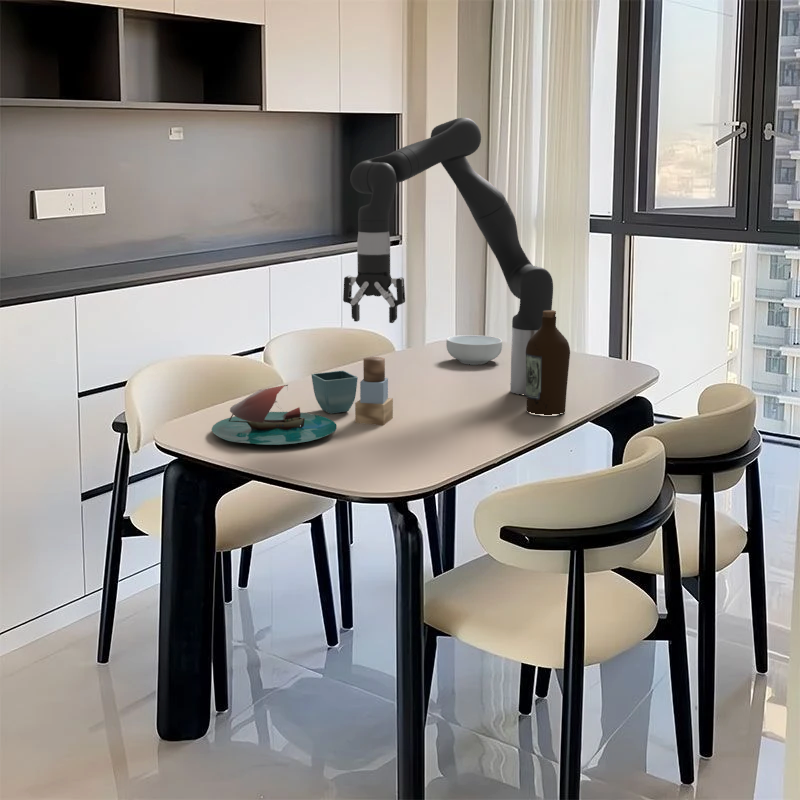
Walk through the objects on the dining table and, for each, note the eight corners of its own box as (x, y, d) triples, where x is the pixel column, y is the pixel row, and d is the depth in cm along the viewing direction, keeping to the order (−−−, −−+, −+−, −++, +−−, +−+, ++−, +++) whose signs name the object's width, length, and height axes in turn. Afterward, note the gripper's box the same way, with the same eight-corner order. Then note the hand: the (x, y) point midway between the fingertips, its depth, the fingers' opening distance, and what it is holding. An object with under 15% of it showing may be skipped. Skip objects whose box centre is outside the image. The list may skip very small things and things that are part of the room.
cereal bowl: (504, 368, 320) (504, 344, 319) (446, 368, 321) (447, 344, 319) (499, 356, 337) (500, 334, 335) (445, 356, 337) (445, 333, 335)
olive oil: (553, 405, 276) (556, 306, 270) (575, 415, 266) (580, 312, 260) (515, 409, 272) (518, 309, 266) (537, 419, 262) (541, 315, 256)
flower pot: (325, 417, 264) (325, 380, 262) (311, 409, 271) (310, 373, 269) (358, 413, 268) (358, 377, 265) (343, 405, 275) (343, 370, 273)
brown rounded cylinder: (387, 378, 260) (387, 357, 259) (381, 382, 255) (381, 361, 254) (366, 377, 261) (366, 356, 260) (361, 381, 257) (360, 360, 255)
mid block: (387, 398, 262) (387, 378, 260) (383, 403, 256) (383, 383, 255) (365, 397, 263) (365, 377, 261) (360, 402, 257) (360, 382, 256)
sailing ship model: (199, 425, 256) (197, 378, 253) (313, 414, 266) (312, 369, 264) (230, 457, 231) (228, 405, 228) (354, 443, 241) (354, 393, 239)
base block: (392, 418, 263) (392, 398, 262) (383, 425, 256) (383, 405, 255) (365, 416, 265) (365, 396, 264) (355, 423, 258) (355, 402, 257)
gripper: (408, 250, 253) (408, 320, 257) (349, 249, 257) (350, 318, 260) (399, 254, 246) (399, 325, 250) (338, 252, 250) (339, 323, 253)
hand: (374, 321), depth 255 cm, fingers open, 8 cm apart
